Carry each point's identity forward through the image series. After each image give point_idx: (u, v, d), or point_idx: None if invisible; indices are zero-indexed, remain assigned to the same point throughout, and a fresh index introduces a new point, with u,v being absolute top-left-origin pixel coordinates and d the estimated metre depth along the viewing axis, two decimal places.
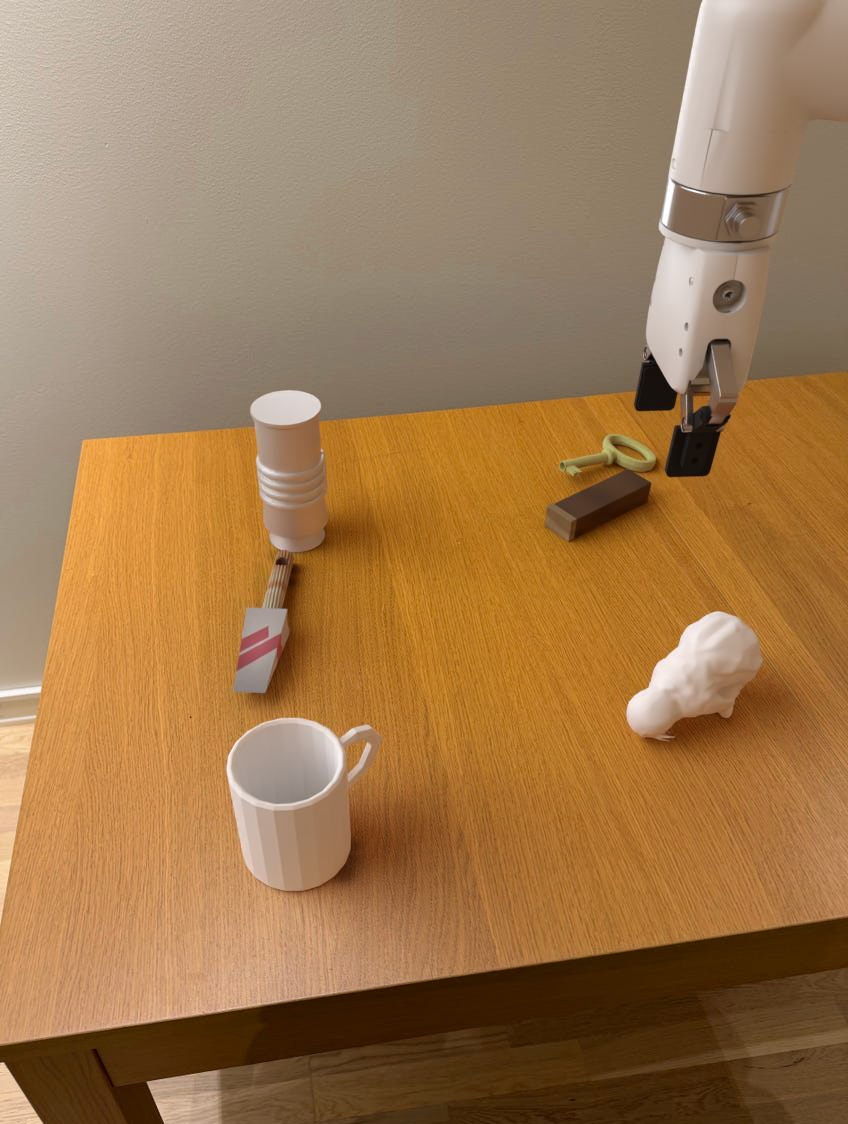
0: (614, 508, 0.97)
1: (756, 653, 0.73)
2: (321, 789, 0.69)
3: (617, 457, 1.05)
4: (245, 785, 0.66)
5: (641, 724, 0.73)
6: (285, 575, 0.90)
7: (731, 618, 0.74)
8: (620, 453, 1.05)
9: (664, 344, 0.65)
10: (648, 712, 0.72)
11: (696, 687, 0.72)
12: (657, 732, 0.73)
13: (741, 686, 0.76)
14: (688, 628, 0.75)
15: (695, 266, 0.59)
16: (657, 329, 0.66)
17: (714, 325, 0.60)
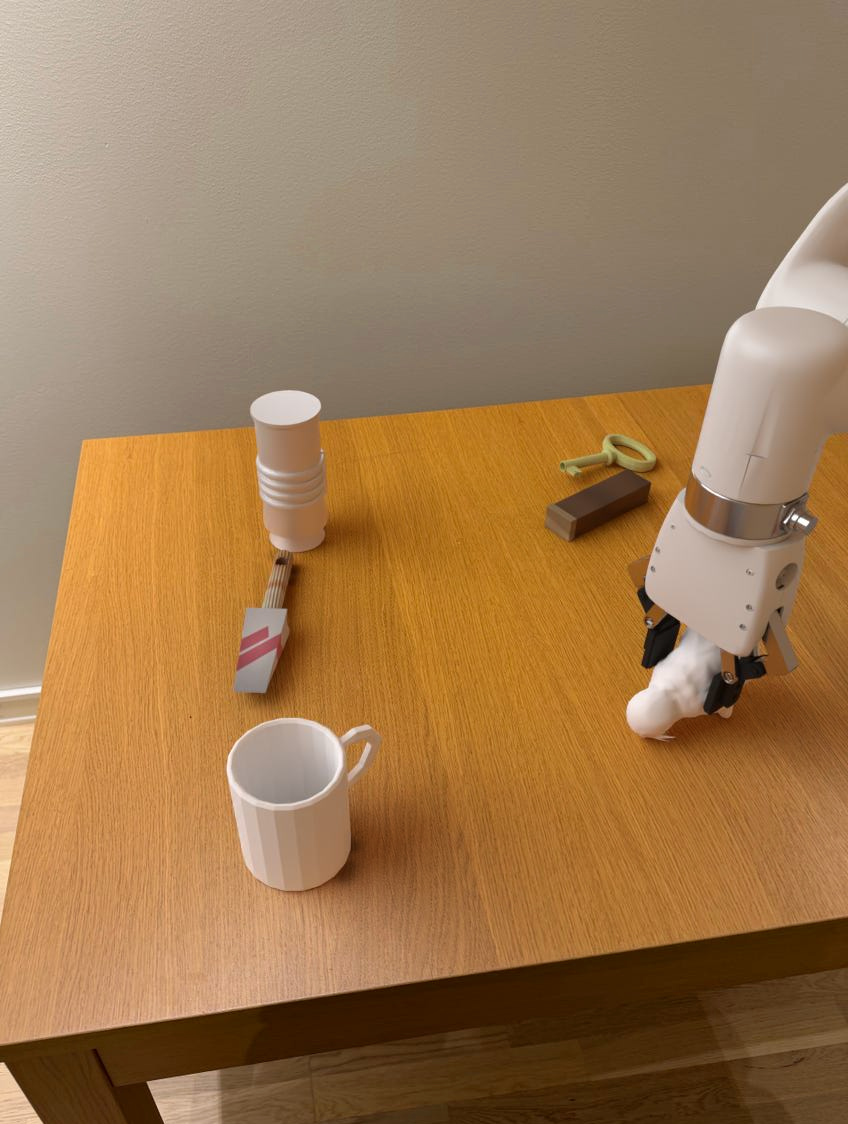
0: (614, 508, 0.97)
1: None
2: (321, 789, 0.69)
3: (617, 457, 1.05)
4: (245, 785, 0.66)
5: (641, 724, 0.73)
6: (285, 575, 0.90)
7: None
8: (620, 453, 1.05)
9: (704, 614, 0.67)
10: (648, 712, 0.72)
11: (695, 687, 0.72)
12: (657, 733, 0.73)
13: None
14: (688, 628, 0.75)
15: (755, 560, 0.61)
16: (683, 598, 0.68)
17: (775, 601, 0.63)
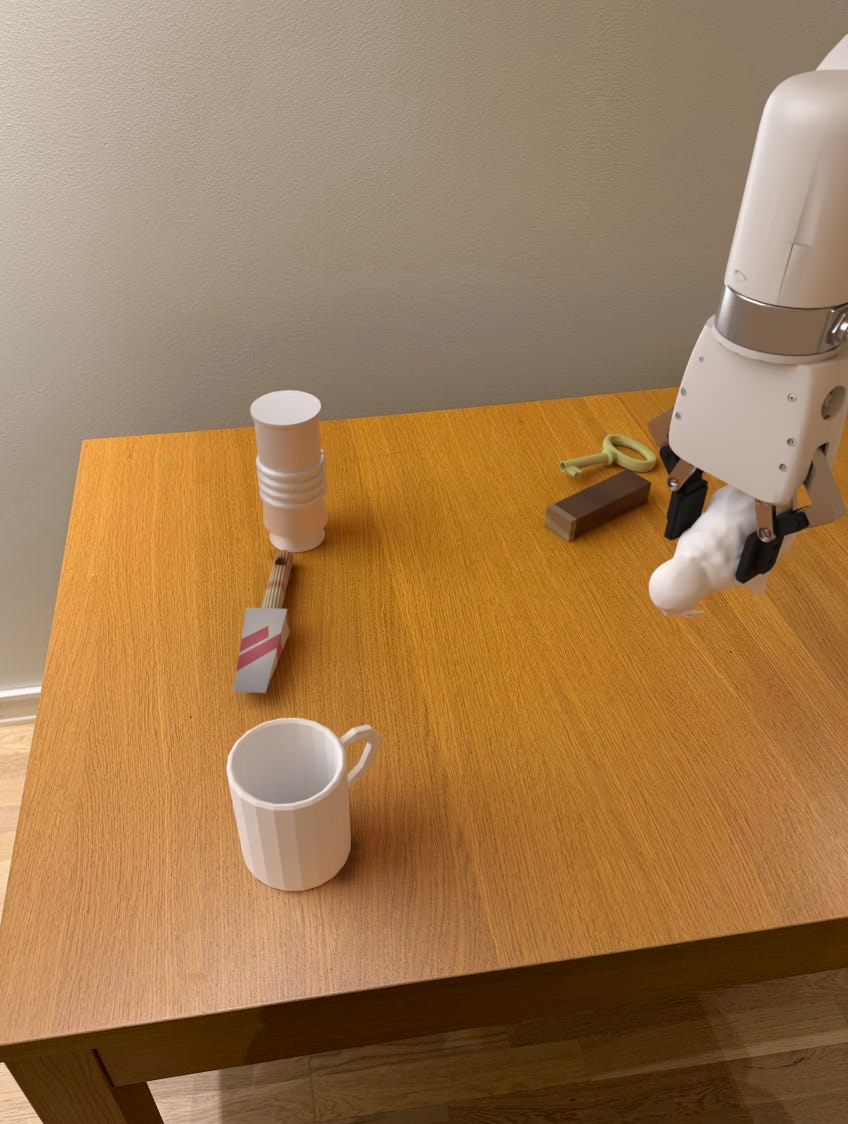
0: (614, 508, 0.97)
1: None
2: (321, 789, 0.69)
3: (617, 457, 1.05)
4: (245, 785, 0.66)
5: (666, 597, 0.65)
6: (285, 575, 0.90)
7: None
8: (620, 453, 1.05)
9: (738, 459, 0.60)
10: (673, 582, 0.65)
11: (726, 553, 0.65)
12: (684, 606, 0.66)
13: None
14: (716, 493, 0.67)
15: (799, 382, 0.54)
16: (713, 444, 0.61)
17: (820, 433, 0.56)
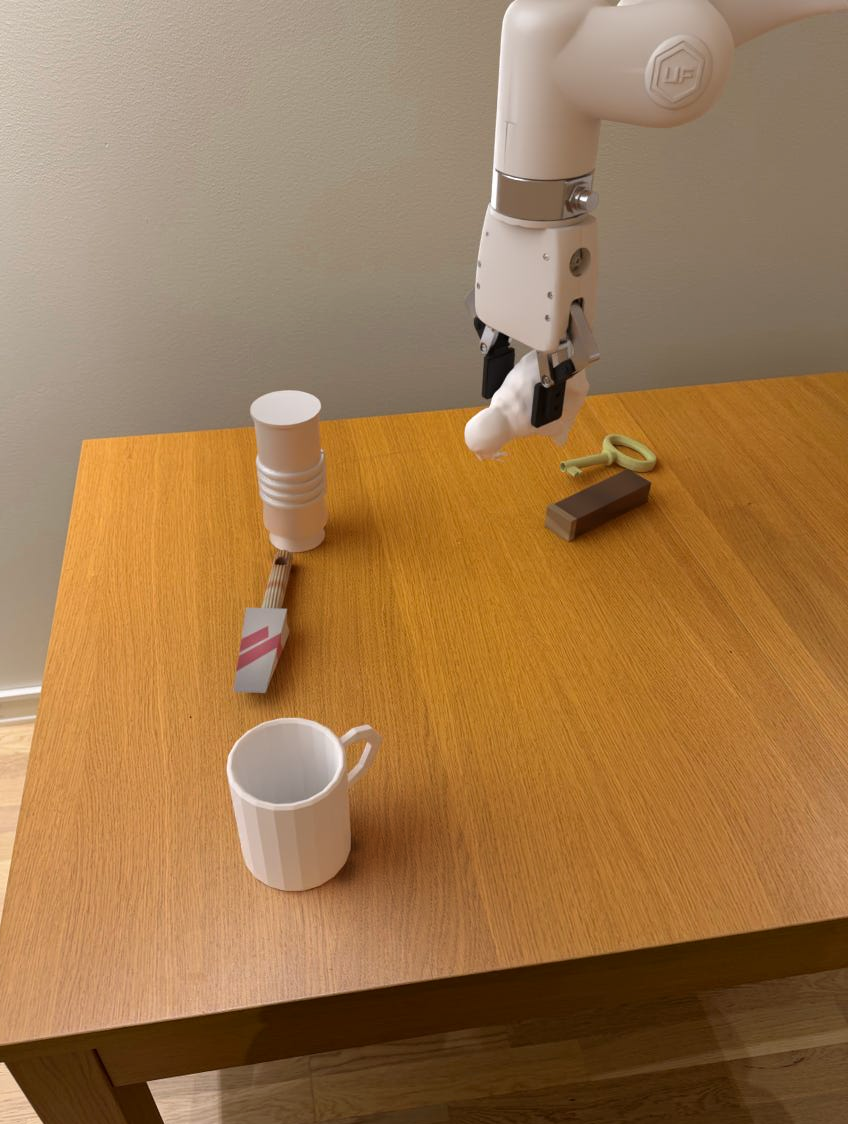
0: (614, 508, 0.97)
1: (580, 375, 0.80)
2: (321, 789, 0.69)
3: (617, 457, 1.05)
4: (245, 785, 0.66)
5: (475, 439, 0.80)
6: (284, 575, 0.90)
7: None
8: (620, 453, 1.05)
9: (518, 316, 0.74)
10: (480, 426, 0.79)
11: (523, 403, 0.79)
12: (489, 447, 0.80)
13: (573, 416, 0.83)
14: (522, 358, 0.82)
15: (549, 243, 0.68)
16: (502, 306, 0.75)
17: (572, 288, 0.70)
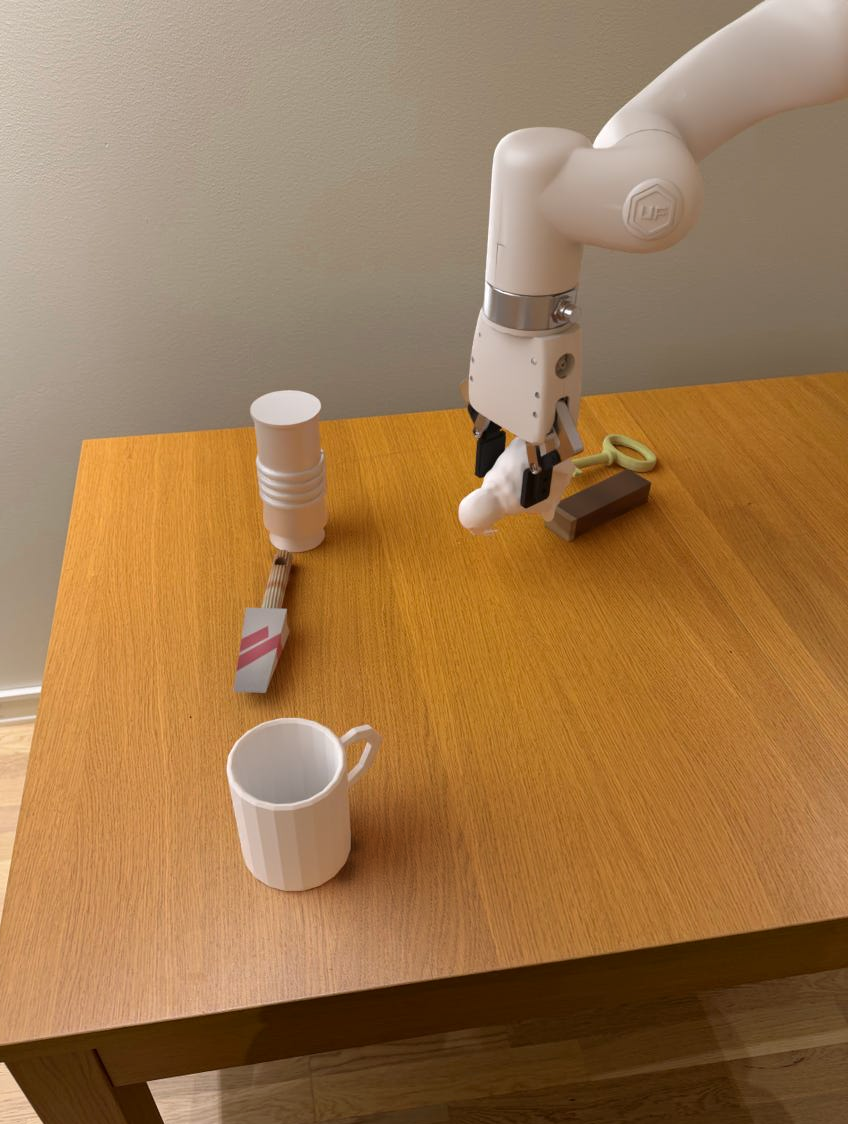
0: (614, 508, 0.97)
1: None
2: (321, 789, 0.69)
3: (617, 457, 1.05)
4: (245, 785, 0.66)
5: (468, 518, 0.85)
6: (284, 575, 0.90)
7: None
8: (620, 453, 1.05)
9: (508, 410, 0.80)
10: (472, 507, 0.85)
11: (513, 485, 0.85)
12: (482, 525, 0.86)
13: (560, 493, 0.89)
14: (512, 440, 0.88)
15: (536, 350, 0.74)
16: (493, 399, 0.81)
17: (558, 389, 0.76)
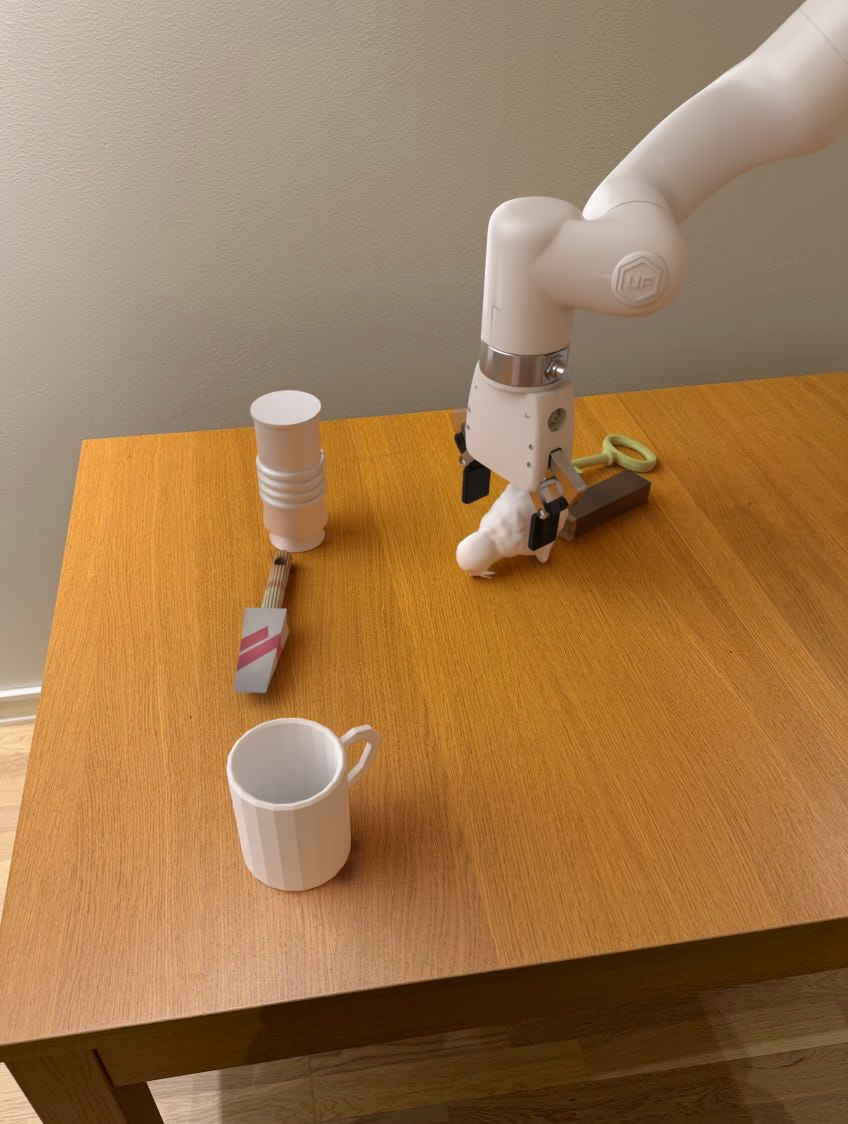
0: (614, 508, 0.97)
1: None
2: (321, 789, 0.69)
3: (618, 457, 1.05)
4: (245, 785, 0.66)
5: (465, 560, 0.89)
6: (284, 575, 0.90)
7: None
8: (621, 453, 1.05)
9: (504, 459, 0.83)
10: (470, 550, 0.88)
11: (509, 529, 0.88)
12: (478, 567, 0.89)
13: None
14: (508, 485, 0.91)
15: (530, 405, 0.77)
16: (489, 448, 0.84)
17: (551, 441, 0.79)
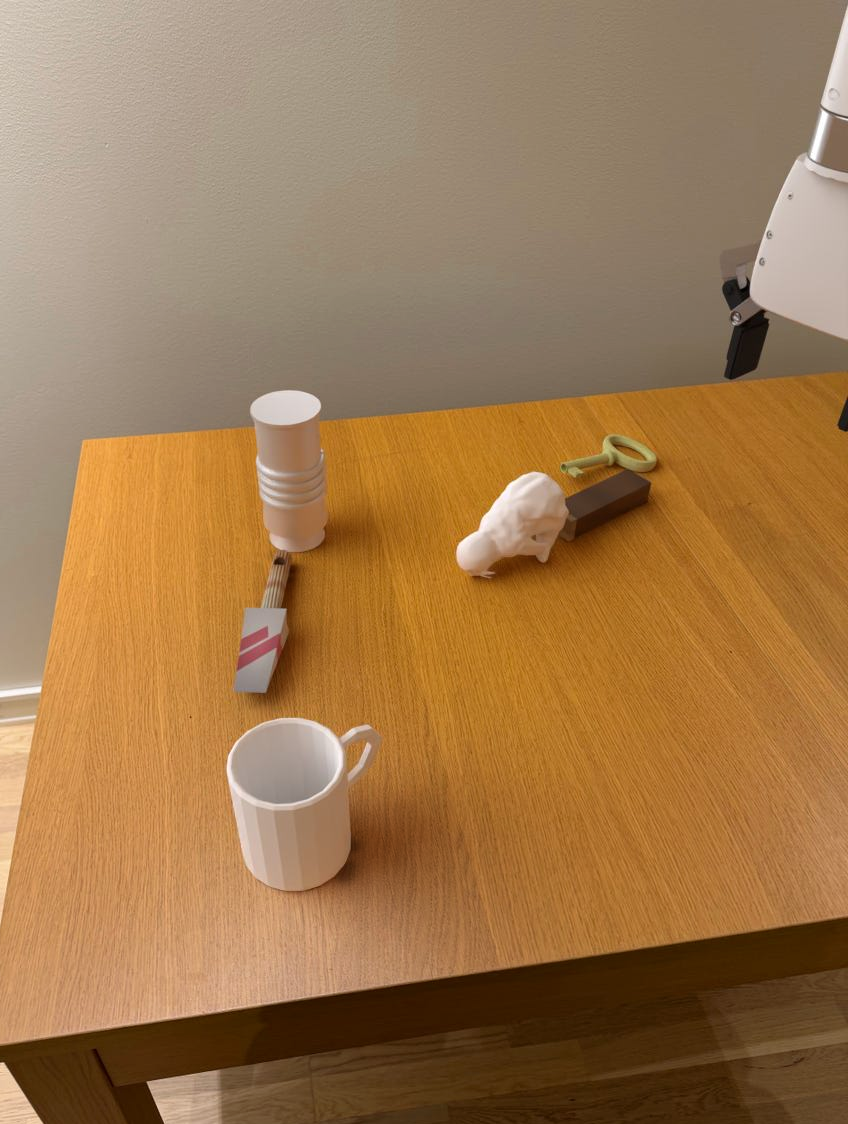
0: (614, 508, 0.97)
1: (560, 503, 0.89)
2: (321, 789, 0.69)
3: (618, 458, 1.05)
4: (245, 785, 0.66)
5: (465, 560, 0.89)
6: (283, 575, 0.90)
7: (540, 474, 0.90)
8: (621, 454, 1.05)
9: (824, 298, 0.60)
10: (470, 550, 0.88)
11: (509, 529, 0.88)
12: (478, 567, 0.89)
13: (554, 535, 0.92)
14: (508, 485, 0.91)
15: None
16: (798, 286, 0.61)
17: None
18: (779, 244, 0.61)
